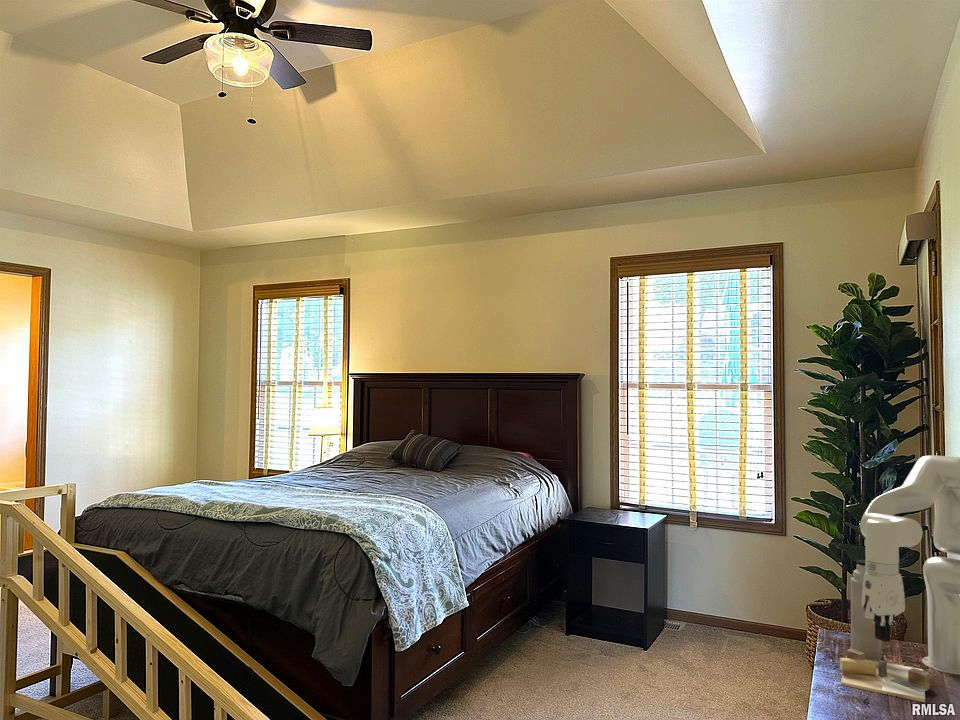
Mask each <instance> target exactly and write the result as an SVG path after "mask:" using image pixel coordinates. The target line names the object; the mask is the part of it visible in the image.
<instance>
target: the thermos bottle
mask: <svg viewBox="0 0 960 720" xmlns="http://www.w3.org/2000/svg"><path fill="white" fill-rule="evenodd" d="M865 572H866V569H865V559H857V560H856V569H854V570H853V572H852V577H850V649H854V650H857V651H860V652H863V653H865V659H867V660H872V661H879V660H882V659H883V658H882V651H883V650H882V648H883V647H882V646H883V645H882V641H881V640H879V639H876V638H875V623H874V622H873V620H872V619H869V618H866V617H865V610H864V609H863V606H862V589H863V580H864V574H865Z"/></svg>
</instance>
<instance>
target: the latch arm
mask: <svg viewBox="0 0 960 720" xmlns="http://www.w3.org/2000/svg"><path fill="white" fill-rule="evenodd" d="M839 670H840V671H841V672H842V673H843V672H850V673H862V674H873V675H876V664H875V663H874V661H868V660H856V659H850V658H846V657H839Z"/></svg>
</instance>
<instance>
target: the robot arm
mask: <svg viewBox="0 0 960 720" xmlns="http://www.w3.org/2000/svg"><path fill="white" fill-rule="evenodd" d="M934 503H935V516H934V525H933V536H932V537H933V538H932V539H933V540H932V541H933V544H934V547H935V549H937V550H939V551H941V552H943V553H947V554H952V555H956V556H960V456H959V457H958V456H949V455H948V456H947V455H935V454H934V455H932V454H930V455H924V456H921V457H919V458H918V459H917V461H915V463H914V465H913V467H912V468H911V470H910V471H909V473H908V474H907V476H906V478H905V480H904V481H903V483H902V485H901V486H899V487H896V488H894V489H891V490H889V491H887V492H885V493H883V494H881V495H879V496H877V497H876V498H874V499H873V500H872V501H871V502H870V503H869V504H868V506H867V508H866V509H865V511H864V512H863V515H862V517H861V520H860V524H859V529H860V532H861V534H862V536H863V537H864V540H865V549H864V550H865V559H864V560H865V569H866V572H865V574H864V580H863V589H862V606H863V609H864V610H865V617H866V618H869V619H872V620H873V622H874V623H875V638H876V639H879V640H881V642H891V626H892V625H893V620H894V618H896V617H897V616H899V615H900V614H902V613H904V612H905V609H906V601H905V600H906V599H905V597H906V596H905V590H904V589H905V588H904V587H905V586H904V582H903V577H902V574H901V573H899V572H900V563H899V562H900V554H899V553H900V551H899V549H900V548H910V547H911V548H912V547H915V546H916V545H918V544H919V543H920V542H921V540H922V538H923V534H924V533H923V531H924V530H923V527H922V526H921V524H920V523H919V522H918V521H917V520H915V519H912V518H909V517H905V516H897V515H899V514H901V513H904V514H905V513H911V512H916V511H917V512H918V511H923V510H927V509H928V508H930V507H932V506H933V504H934ZM922 573H923V579H924V582H925V583H924V584H925V587H926V588H925V589H926V599H927V653H928V655H927V656H925V657H923V658H921V661H922V664H924V665H925V666H927V667H928V668H930V669H932V670H935V671H939V672H941V673H944V674H945V673H946V674H951V675H957V676H958V675H960V559H957V558H951V557H945V556H932V557H929V558H927V559H926V560H925V561H924V564H923V566H922Z"/></svg>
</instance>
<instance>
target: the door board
mask: <svg viewBox="0 0 960 720" xmlns="http://www.w3.org/2000/svg"><path fill="white" fill-rule="evenodd" d="M845 658H850V659H856V660H867V659H865V653H863V652H860V651H857V650H854V649H851V648H848V649H846V655H845ZM868 661H872V660H868ZM874 663H875V664H876V675H873V674H862V673H850V672H842V675H841V680H840V681H841V682H840V686H845V687H850V688H853V689H859V690H863V691H867V692H868V691H869V692H872V693H877V694H882V695H883V694H884V695H887V694H888V695H887V696H891V695H892V696H891V697H896V696H897V697H896V698H901V699H907V700H912V701H916V702H921V703H926V694H925V693H926V692H927V691H928V690H930V685H931V684H930V681H931V680H930V672H928V671H925V670H924V669H923V668H917V667H912V666H906V665H902V664H895V663H890V662H887V661H886V660H883V659H881V660H879V661H874Z"/></svg>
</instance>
